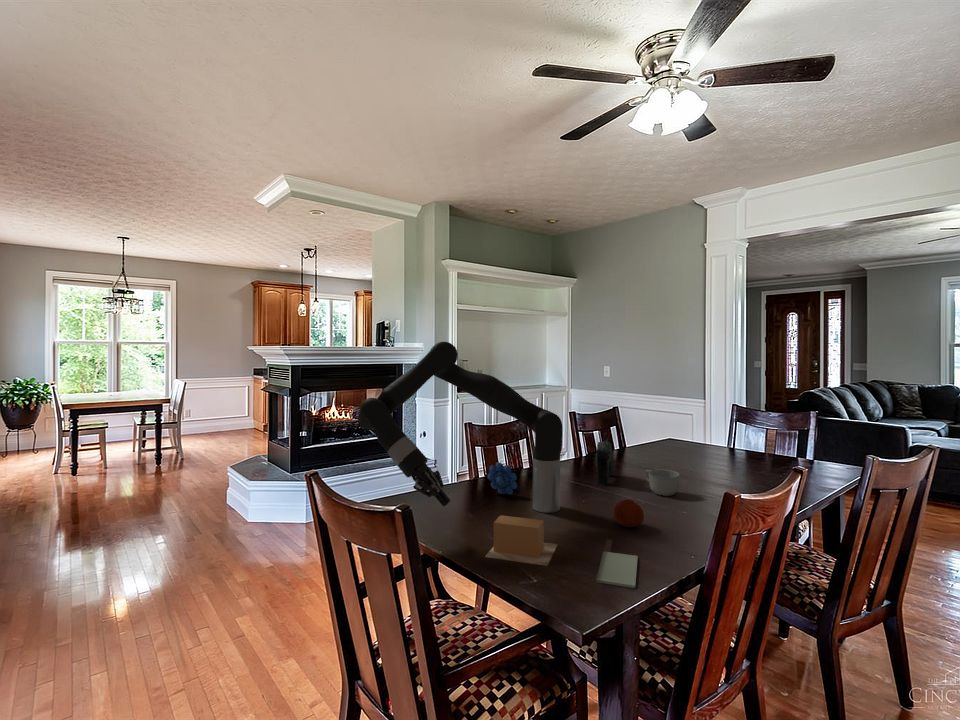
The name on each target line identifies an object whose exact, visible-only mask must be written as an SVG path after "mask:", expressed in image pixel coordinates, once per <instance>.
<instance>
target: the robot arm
mask: <svg viewBox="0 0 960 720" xmlns="http://www.w3.org/2000/svg"><path fill="white" fill-rule="evenodd" d="M458 354H459V353H458V350H457V348H456V346H455V345H454V344H453V343H451V342H448V341H439V342H437V343H435V344H434V345H433V346H432V347H431V348H430V350H429V351H428V352H427V353H426V355H425V356H423V358H422V359H420V360H419V361H418V362H417V363H415V365H414V366H413V367H411V368H410V369H409V370H407V371H406V372H405V373H404V374H402V375H400V376H399V377H398V378H397V379H395V380H394V381H393V382H391V383H390V384H388V385H387V386H386V387H384V389H382V391H381V392H380V394H379V395H378V397H377V398H376V397H369V398H366V399H364V400H363V401H362V403H361V404H360V408H359V410H358V411H359V413H358V415H357V421H358V424H359V426H360V427H361V428H363V429H365V430H374V431H375V432H376V439H377V441H378V443H379V444H380V445H381V446H382V448H383V450H385V452H386V453H388V456H390V459H391V460H392V461H393V463H394V464H395V465H396V466H397V468H399V470H400V471H401V472H402V473H403V474H404V476H405V477H406V478H412V480H413V481H414V484H413V489H414V490H416V491H417V492H418V493H421V494H423V495H425V496H427V497H428V498H430V497H433V498H436V500H437V501H438V502H439V503H440V504H441V506H442V507H446V506H448V504H449V503H450V502H451V499H450V498H449V496H447V494H446V493H445V492H444V491H443V490H444V486H445V485H444V482H443V479H442V476H441V473H440V472H439V470H434V471H433V470H432V468H431V467H430V466H428V465H427V463H428V457H426V455H424V453H423V452H422V451H421V450H420V448H419V447H418V446H417V445H416V444H415V442H413V441H412V440H411V439H410V438H409V437H408V436H407V435H406V434H405V432H404V431H403V430H402V429H401V428H400V427H399V425H398V424H397V421H396V420H395V419H394V417H393V415H392V414H393V413H394V412H395V411H396V410H397V409H399V407H401V406H403V404H405V403H406V402H407V401H408V400H410V398H412V397H413V395H416V393H417V392H418V391H419V390H420V389H421V388H422V387H423V386H424V385H425V384H426V383H427V382H428V381H429V380H430V379H431V378H432V377H436V378H438V379H440V380H442V381H445V382H447V383H448V384H451V385H453V386H455V387H457V388H459V389H461V390H462V391H463V392H465V393H467V394H469V395H470V396H472V397H474V398H476V399H477V400H479V401H481V402H482V403H483V404H485V405H487V406H488V407H490V408H492V409H494V410H495V411H499V412H500V413H502V414H505V415H507V416H510V417H512V418H514V419H516V420H517V421H519V422H521V423H522V424H523V425H524V426H526V427H527V428H528V429H530V430H531V431H532V432H533V433H534V435H535V437H534V440H535V441H534V448H533V450H532V509H533V510H534V511H536V512H539V513H547V514H548V513H549V514H550V513H556V512H559V511H560V510H561V453H562V450H563V423H562V422H563V421H562V419H561V417H560V416H559V415H557V414H556V413H554V412H552V411H550V410H548V409H544V408H542V407H540V406H538V405H537V404H533V402H530V401H528V400H527V399H525V398H524V397H523V396H522V395H521V394H519V393H518V392H517V391H516V390H515V389H514V388H512V387H511V386H509V385H508V384H506V383H505V382H503V381H502V380H500V379H498V378H497V377H495V376H493V375H490V374H486V373H481V372H475V371H471V370H470V371H469V370H468V369H465V368H463V367H461V366H460V365H458V364H456V363H457V361H458V356H459V355H458Z"/></svg>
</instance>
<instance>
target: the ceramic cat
mask: <svg viewBox="0 0 960 720" xmlns="http://www.w3.org/2000/svg"><path fill="white" fill-rule="evenodd" d="M607 434H608V433H607V432H604V434H603V441H598V442H597V445H596V453H595V464H596V469H597V483H598V485H600V484H606V485H605V486H607V485H608V484H609V477H611V476H612V469H613V459H614V455H613V446H612V444H611V442H610V439H609V438H606V439H605V437H606V436H607Z"/></svg>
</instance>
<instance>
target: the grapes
mask: <svg viewBox="0 0 960 720" xmlns="http://www.w3.org/2000/svg"><path fill="white" fill-rule="evenodd" d="M487 479H488V480H489V481H491V482H490V486H491V488H492V489H493V490H497V492H498V494H500V495H502V494H503V495H505V494H507V495H512V494H513V493H514V490H516V489H518V483H517V481H516V480H517V479H518V478H517V474H516V473H515V472H512V468H511V466H510V465H508V464H505V465H504V464H503V463H502V462H499V461H497V462H496V464H495V465H490V466H489V473H487Z"/></svg>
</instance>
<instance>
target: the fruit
mask: <svg viewBox="0 0 960 720" xmlns="http://www.w3.org/2000/svg"><path fill="white" fill-rule="evenodd" d="M612 513H613V514H612V515H613V519H614V520H615V521H616V522H617V523H618V525H621V526H622V527H626V528H635V527H638V526H641V524H642V523H643V522H644V520H645V519H644V518H645V515H644V509H643V508H642V507H641V505H639V504H638V503H636V502H635V501H633V500H632V499H623V500H621V501H619V502H618V503H616V504H615V506H614V508H613V512H612Z"/></svg>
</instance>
